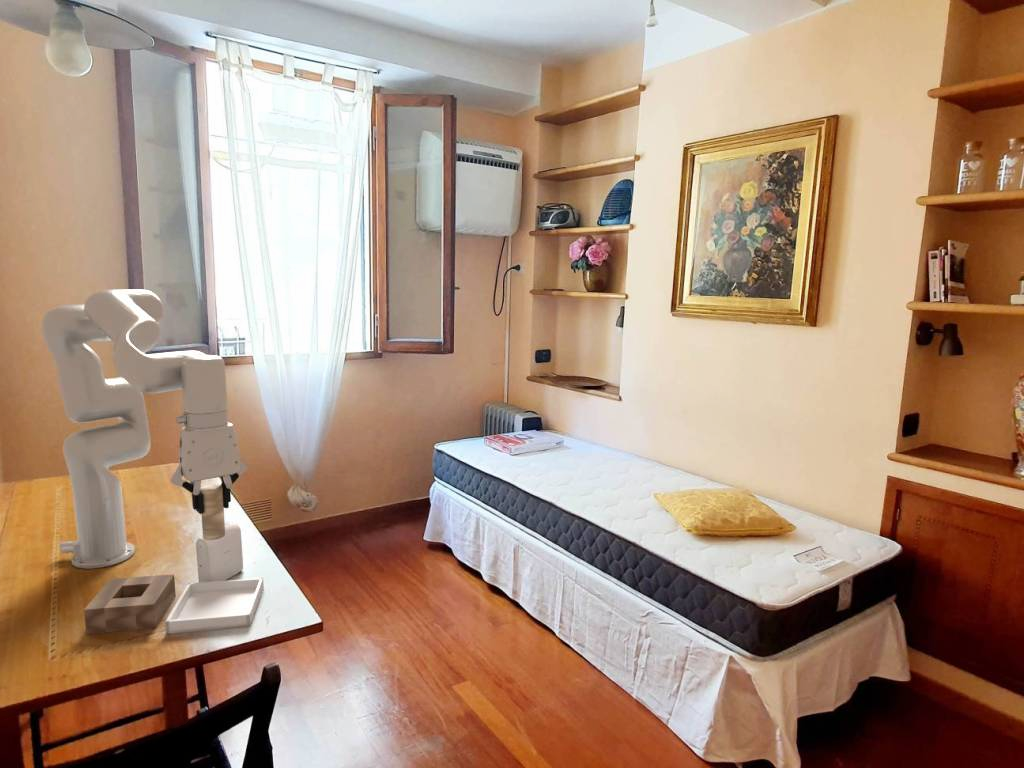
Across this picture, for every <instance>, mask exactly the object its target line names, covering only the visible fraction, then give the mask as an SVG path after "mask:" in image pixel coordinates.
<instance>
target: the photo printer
mask: <svg viewBox="0 0 1024 768" xmlns="http://www.w3.org/2000/svg"><path fill="white" fill-rule="evenodd" d="M195 552H196V565H197V566H196V567H197V575H198V577H197V578H198V583H199V582H212V581H226V580H228V579H230V578H232V577H234V576H235V575H237V574H239V573H240V572H241V571H242V570H244V562H243V561H244V559H243V557H244V556H243V543H242V532H241V528H240V526H239V524H238V523H234V522H225V536H224V537H222V538H219V539H216V540H205V539H204V538H203V534H201V535H200V536H199V537H198V538H197V540H196V542H195Z"/></svg>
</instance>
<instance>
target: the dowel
mask: <svg viewBox="0 0 1024 768" xmlns="http://www.w3.org/2000/svg"><path fill="white" fill-rule="evenodd" d="M200 491H201V494H203V502H204V513H203V514H201V524H202V525H201V526H202V535H203V538H204V539H205V540H216V539H219V538H222V537H224V536H225V523H226V522H225V508H224V505H223V487H222V486H221V484H208V485H204V486H202V487H200Z"/></svg>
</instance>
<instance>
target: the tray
mask: <svg viewBox="0 0 1024 768" xmlns="http://www.w3.org/2000/svg"><path fill="white" fill-rule="evenodd" d="M264 584H265V583H264V577H254V578H241V579H239V578H238V579H231V580H230V579H229V580H228V579H227V580H225V581H212V582H199V581H198V582H189V583H187V585H186V587H185V588H184V590H183V592H182V593H181V594H180V596H179V598H178V600H177V602H176V603H175V605H174V606H173V608H172V609H171V611H170V613H169V615H168V617H167V618H166V619H165V621H164V626H165V635H168V634H170V635H171V634H180V633H193V632H203V631H213V630H215V631H216V630H224V629H225V630H226V629H235V628H236V629H237V628H248V627H251V625H252V622H253V619H254V616H255V614H256V611H257V609H258V605H259V602H260V600H261V597H262V595H261V594H263V592H262V591H264V589H263V588H265V587H264V586H265V585H264Z"/></svg>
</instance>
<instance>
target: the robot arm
mask: <svg viewBox="0 0 1024 768" xmlns="http://www.w3.org/2000/svg"><path fill="white" fill-rule="evenodd" d="M164 315H165V310H164V306H163V303H162V300H161V299H160V298H159V296H158V295H156V293H154V292H152V291H150V290H147V289H140V288H138V289H136V288H135V289H133V288H132V289H131V288H130V289H122V288H121V289H119V288H118V289H117V288H116V289H102V290H98V291H96V292H93V293H91V294H90V295H89V296H87V298H86V300H85V301H84V303H83V304H68V305H67V304H65V305H60V306H55V307H52V308H51V309H48V310H47V311H46V312H45V313H44V314H43V317H42V321H41V331H42V337H43V340H44V342H45V345H46V348H47V349H48V351H49V353H50V355H51V357H52V358H53V361H54V363H55V366H56V371H57V372H56V373H57V377H58V382H59V383H58V384H59V388H60V394H61V400H62V405H63V410H64V413H65V414H66V417H67V419H68V420H69V421H71V422H72V423H76V424H84V423H85V424H86V423H94V422H100V421H105V420H110V419H118V422H117V423H112V424H108V425H106V424H105V425H101V426H100V425H99V426H93V427H88V428H84V429H80V430H77V431H75V432H73V433H71V434H69V435H68V436H67V437H66V438H65V439H64V441H63V444H62V453H63V457H64V460H65V463H66V466H67V469H68V472H69V477H70V482H71V483H70V484H71V489H72V490H71V491H72V499H73V508H74V516H75V517H74V518H75V525H76V527H75V528H76V536H77V540H75V541H61V542H60V544H59V550H60V554H69V553H72V554H73V556H71V565H72V566H74V567H75V568H78V569H84V570H85V569H91V570H92V569H99V568H105V567H110V566H113V565H116V564H120V563H122V562H124V561H127V560H128V559H129V558H131V557H132V556H133V555H134V554H135V552H136V551H135V550H136V549H135V545H134V544H133V543H132V542H128V541H127V534H126V533H127V531H126V522H125V521H126V520H125V511H124V509H125V507H124V499H123V489H122V488H123V487H122V483H121V481H120V479H119V478H118V477H117V475H115V474H114V473H112V471H110V469H109V468H110V467H113V466H115V465H118V464H123V463H127V462H131V461H135V460H139V459H142V458H144V457H146V455H148V453H149V451H150V449H151V441H152V440H151V435H150V427H149V421H148V415H147V408H146V402H145V397H144V394H150V395H153V394H161V393H166V392H167V393H168V392H172V391H178V390H180V391H181V390H182V401H183V402H182V403H183V411H182V414H181V415H180V416H176V417H175V420H176V421H175V422H176V425H179V424H181V425H183V426H182V428H181V429H180V436H179V437H180V438H179V446H178V447H179V448H178V450H179V451H178V454H179V455H178V466H177V467H176V470H175V471H174V473H173V474H172V476H171V478H170V481H169V482H170V483H171V484H172V485H174V486H178V487H180V488H183V489H185V490H186V491H188V492H190V493H191V502H192V508H193V510H195V511H196V512H197V513H198V514H199V515H202V514H203V513H204V502H203V494H201V491H200V488H202V487H201V486H202V481H207V480H211V479H216V478H217V479H218V478H220V482H221V484H220V485H221V486H222V487H223V505H224V509H229V507H230V506H229V505H230V504H229V503H231V502H232V497H231V489H232V487H233V485H234V483H235V482H236V481H237V480H238V479H239V477H240V476H242V475H243V474H244V473H245V472H246V471H248V467H247V465H246V464H245V463H244V462H243V461H242V460H241V458H240V450H239V445H238V439H237V433H236V431H235V427H234V424H233V423H231V422H229V415H228V414H229V413H228V412H229V411H228V397H227V395H228V394H227V380H226V379H227V378H226V364H225V361H224V359H223V357H221V356H219V355H215V354H206V353H204V352H201V351H199V350H193V349H192V350H191V349H190V350H181V351H168V352H167V351H165V352H155V353H149V354H148V353H147V352H149V351H150V350H152V349H153V348H154V347H155V346H156V344H157V343H158V342H159V340H160V337H161V327H160V323H162V321H163V319H164ZM100 342H113V343H114V345H113V349H112V357H113V363H114V366H115V369H116V370H117V373H118V374H119V375H120V376H118V377H117V376H116V377H109V378H106V377H105V375H104V369H103V362H102V360H101V358H100V356H99V355H98V354H97V353H96V352H95V351H94V350H93V348H91V347H90V346H88V344H85V343H100ZM146 353H147V354H146ZM182 478H184V479H182Z"/></svg>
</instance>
